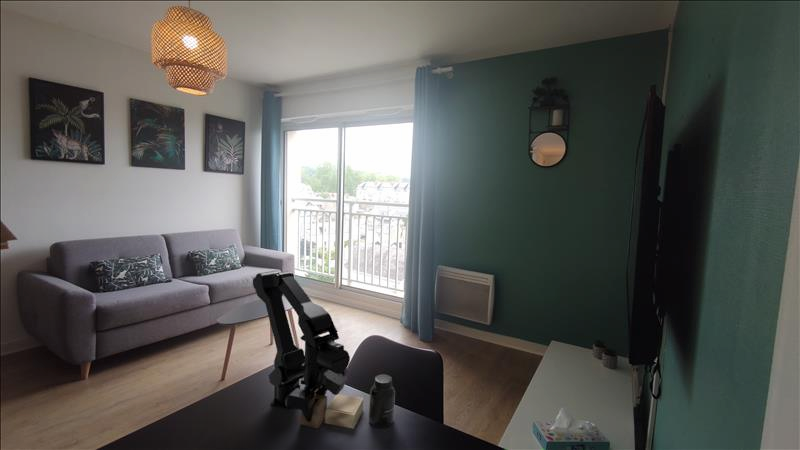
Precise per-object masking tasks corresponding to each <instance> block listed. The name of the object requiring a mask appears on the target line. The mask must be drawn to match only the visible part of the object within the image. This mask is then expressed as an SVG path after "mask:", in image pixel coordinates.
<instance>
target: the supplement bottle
mask: <svg viewBox="0 0 800 450" xmlns="http://www.w3.org/2000/svg"><path fill="white" fill-rule="evenodd" d="M395 399H396V390H395V387H393V378H392V376H390V375H389V374H378V375H375V376H374V383H373V386H372V387H371V388H370V392H369V407H368V408H369V409H368V421H369V423H370V424H371V425H372V426H374V427H377V428H386V427H389V426H391V425H392V424H393V422H394V418H395V417H394V416H395V404H396V402H395V401H396V400H395Z"/></svg>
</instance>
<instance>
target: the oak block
mask: <svg viewBox="0 0 800 450" xmlns="http://www.w3.org/2000/svg"><path fill="white" fill-rule="evenodd" d="M363 412H364V398H363V397H357V396H351V395H346V394H340V393H339V394H338V395H335V396H334V398H333V399H332V400H331V402H330V403H329V405H327V409H326V414H325V420H324V424H329V425H333V426H338V427H343V428H344V427H345V428H349V429H354V428H355V427H356V425H357V423H358V421H359V419H360V418H361V416H362V413H363Z"/></svg>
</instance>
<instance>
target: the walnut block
mask: <svg viewBox="0 0 800 450" xmlns="http://www.w3.org/2000/svg"><path fill="white" fill-rule="evenodd" d="M315 399H319V400H318V401H317V402H316V404H315V405H314V406H313V413H312V419H311V421H310V422H309V421H306V419H305V417H304V415H303V413H302V411H301V410H300V425H301V426H306V427H310V428H315V429H319V428H320V426H321V425H322V423H323V422H325V414H326V409H327V407H328V396H327V395H325V396H323V395H319V394H316V395H315Z"/></svg>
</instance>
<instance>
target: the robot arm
mask: <svg viewBox="0 0 800 450" xmlns="http://www.w3.org/2000/svg"><path fill="white" fill-rule="evenodd" d="M252 286H253V288H254V291H255V293H256V296H257V297H258V298H259V299H260V300H261V301H262V302H264V304H265V308H266V312H267V314H268V315H267V316H268V320H269V324H270V327H271V331H272V336H273V339H274V344H275V347H276V354H275V357H274V360H273V364H274V365H273V366H274V369H273V370H272V371H271V372H270V373H269V374H268V379H269V384H271V385H273V386H274V390H273V393H274V394H273V398H274V399H272V400H271V402H270V405H272V406H278V407H282V408H285V409H286V408H287V409H295V410H297V411H298V410H299V411H300V412H301V411H302V413H303V415H304V417H305V419H306V421H309V422H310V421H311V419H312V413H313V406H314V405H315V404H316V402H317V401H318V400H319V399H315V395H316V394H319V395H323V396H327V391H329V392H330V393H331V394H332V395H335V396H336V395H338V394H340V392H342V390H343V389H344V387H345V385H346V382H347V381H348V380H349V377H348V376H349V375H348V366H349V364H350V360H351V359H350V357H351V356H350V354H349V352H348V351H347V350H345V346H344V344H343V343H338V342H336V341H337V340H340V339H339V338H340V337H339V334H338V329H337V328H336V326H335V323H334V321H333V318H332V316H331V314H330V313H329V312H328V311H327V310H326V309H325V308H324V307H323V306H321V305H318V304H315V303H314V302H313V301H312V300H311V298H310V297H309V296H308V294H307V293H306V292H305V290H304V289H303V288H302V286H301V285H300V283H298V281H297V280H296V279H295V275H294V273H293V272H292V271H288V270H287V271H282V272H281V271H278V270H274V271H273V270H271V271H265V272H259V273H256V275H255V277H254V278H253V280H252ZM283 296H284V297H285V299H286V301H288V303H289V305H290V306H291V307H292V309H293V310H294V312H295V313H296V315H297V316H298V317H297V319H298V320H297V325H298V327H299V328H300V330H301V333H302V336H300V340H302V341H304V349H303V348H302V347H301V348H299V347H298V346H296V344H295V342H294V337H293V335H292V331H291V327H290V324H289V323H290V322H289V319H288V316H287V312H286V308H285V305H284V301H283ZM327 333H328V334H327ZM323 334H325V335H323ZM320 335H321V336H320ZM301 385H303V386H304V387H303V389H301Z"/></svg>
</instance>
